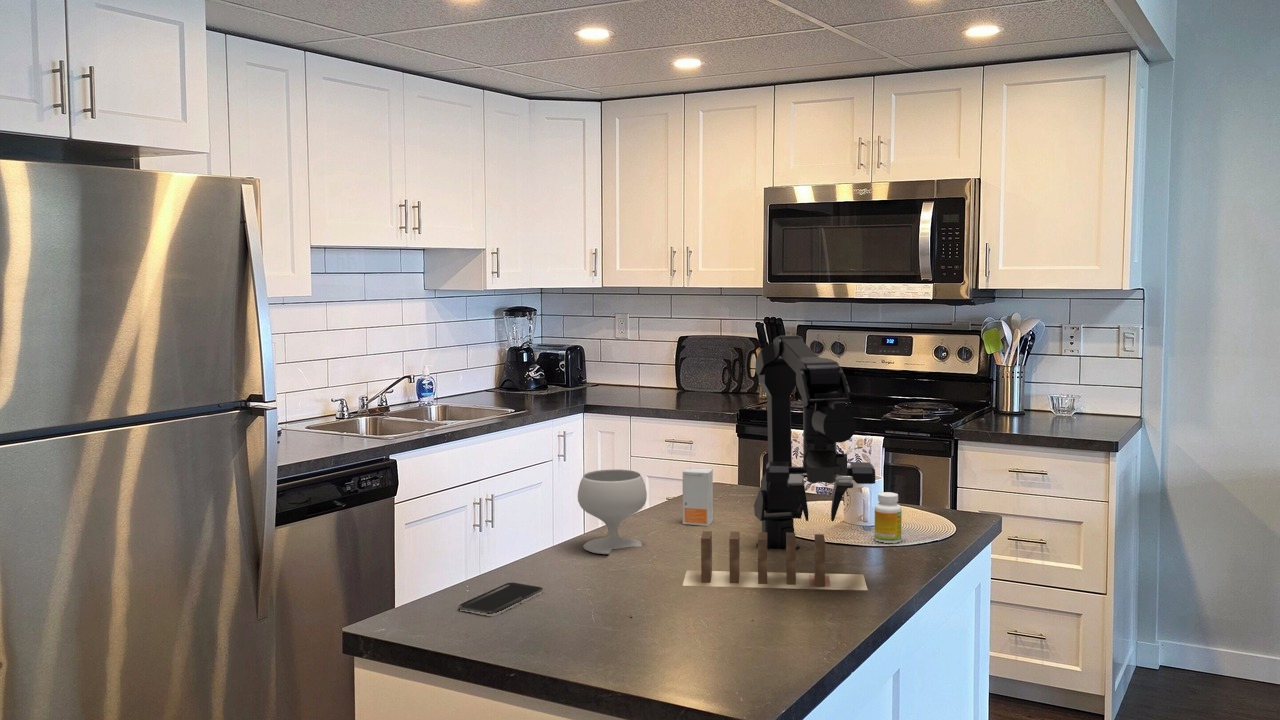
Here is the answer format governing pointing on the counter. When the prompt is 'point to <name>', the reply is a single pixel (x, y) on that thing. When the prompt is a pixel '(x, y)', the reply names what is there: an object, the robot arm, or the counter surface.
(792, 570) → the domino
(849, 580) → the domino board
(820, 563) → the domino
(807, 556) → the counter surface
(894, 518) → the supplement bottle
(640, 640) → the counter surface
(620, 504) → the chalice
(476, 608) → the phone
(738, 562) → the domino
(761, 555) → the domino
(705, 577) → the domino
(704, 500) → the skincare box
